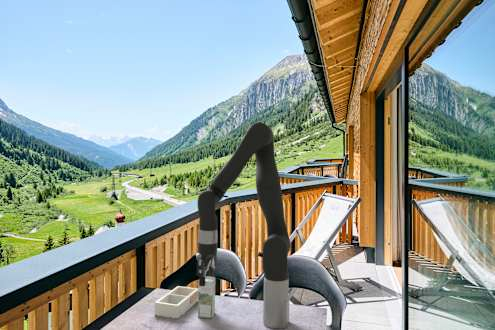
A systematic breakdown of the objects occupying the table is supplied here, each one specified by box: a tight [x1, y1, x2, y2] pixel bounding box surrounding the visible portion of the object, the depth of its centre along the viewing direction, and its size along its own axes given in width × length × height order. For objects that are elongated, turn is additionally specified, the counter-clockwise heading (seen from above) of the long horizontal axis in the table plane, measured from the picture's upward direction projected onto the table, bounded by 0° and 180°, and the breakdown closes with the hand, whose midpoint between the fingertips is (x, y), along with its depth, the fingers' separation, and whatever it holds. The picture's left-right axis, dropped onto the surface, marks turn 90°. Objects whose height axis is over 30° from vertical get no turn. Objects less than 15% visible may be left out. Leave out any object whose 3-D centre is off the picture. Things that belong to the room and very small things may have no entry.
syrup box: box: [197, 276, 216, 319], centre depth 141 cm, size 6×6×14 cm
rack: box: [154, 285, 198, 319], centre depth 148 cm, size 10×19×5 cm, turn 163°
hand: (206, 282), depth 141 cm, fingers open, 8 cm apart
